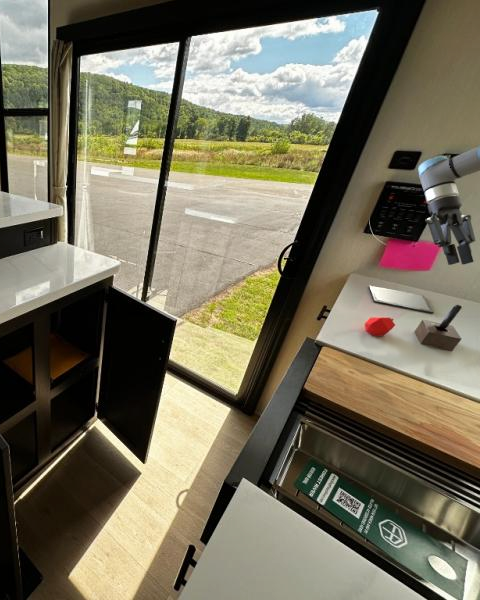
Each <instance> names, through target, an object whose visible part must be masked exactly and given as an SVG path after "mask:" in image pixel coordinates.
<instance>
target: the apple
mask: <svg viewBox="0 0 480 600" xmlns="http://www.w3.org/2000/svg"><path fill="white" fill-rule="evenodd" d="M395 326H396V324H395V323H394V318H391V317H387V316H386V317H385V316H381V317H380V316H379V317H377V316H376V317H369V318H368V319H367V321H365V323H364V328H365V329H364V330H365V331H366V332H367V333H368V334H370V335H371V336H374V337H375V336H377V337H385V336H386V335H388V333H389V332H391V331H392V330H393V329H394V327H395Z"/></svg>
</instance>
